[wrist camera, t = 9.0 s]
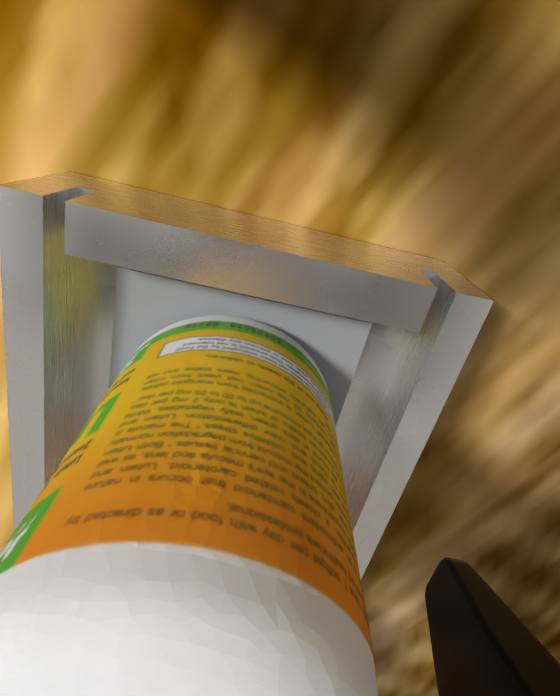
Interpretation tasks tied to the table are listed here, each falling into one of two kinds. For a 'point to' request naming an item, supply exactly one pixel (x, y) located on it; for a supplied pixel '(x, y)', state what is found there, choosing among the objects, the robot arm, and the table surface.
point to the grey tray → (221, 299)
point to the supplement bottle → (193, 534)
